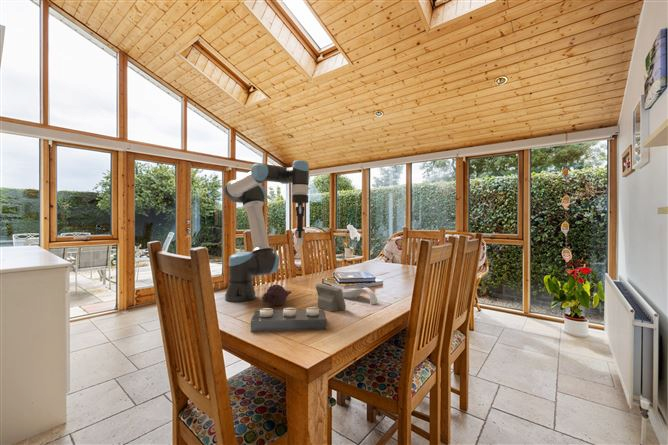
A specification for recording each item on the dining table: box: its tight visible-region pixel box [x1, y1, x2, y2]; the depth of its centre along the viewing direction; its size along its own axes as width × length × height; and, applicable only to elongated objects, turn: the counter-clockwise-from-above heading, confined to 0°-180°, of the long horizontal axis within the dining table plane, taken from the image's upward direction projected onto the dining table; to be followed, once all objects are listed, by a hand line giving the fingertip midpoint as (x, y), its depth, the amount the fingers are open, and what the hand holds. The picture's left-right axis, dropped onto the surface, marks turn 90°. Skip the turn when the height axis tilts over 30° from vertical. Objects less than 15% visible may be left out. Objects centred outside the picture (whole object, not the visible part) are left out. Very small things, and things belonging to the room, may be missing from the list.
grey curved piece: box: [342, 286, 378, 306], centre depth 160 cm, size 24×12×7 cm, turn 40°
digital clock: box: [315, 283, 347, 313], centre depth 144 cm, size 16×9×11 cm, turn 36°
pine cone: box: [261, 284, 292, 306], centre depth 146 cm, size 18×10×10 cm, turn 145°
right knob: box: [305, 306, 320, 316], centre depth 121 cm, size 5×5×6 cm
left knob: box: [259, 307, 274, 317], centre depth 119 cm, size 5×5×6 cm
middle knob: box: [282, 307, 297, 317], centre depth 120 cm, size 5×5×6 cm
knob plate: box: [250, 309, 328, 333], centre depth 120 cm, size 28×12×4 cm, turn 97°
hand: (299, 245), depth 143 cm, fingers closed
